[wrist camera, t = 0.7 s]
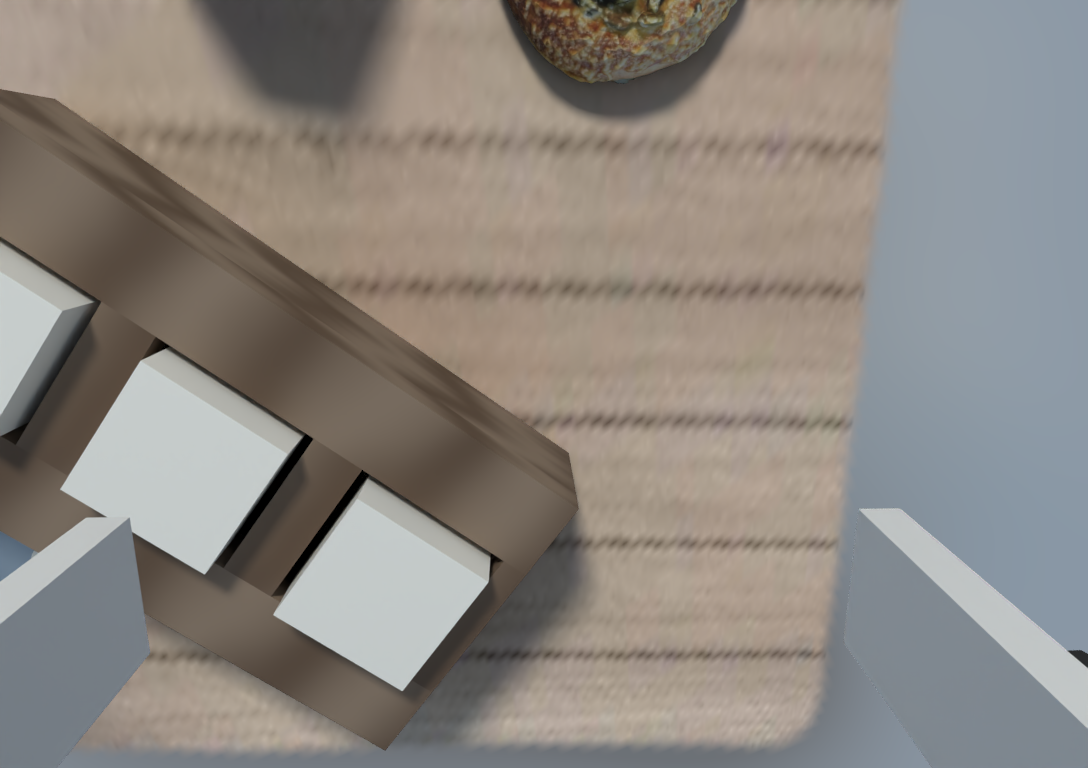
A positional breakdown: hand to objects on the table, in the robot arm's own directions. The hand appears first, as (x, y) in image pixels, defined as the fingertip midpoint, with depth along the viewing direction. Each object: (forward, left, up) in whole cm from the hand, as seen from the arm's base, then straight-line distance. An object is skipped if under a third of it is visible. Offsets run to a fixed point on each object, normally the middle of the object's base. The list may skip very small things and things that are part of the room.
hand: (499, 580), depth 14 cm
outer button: (+1, -10, -17) cm, 20 cm away
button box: (-8, -10, -22) cm, 25 cm away
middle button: (-8, -10, -17) cm, 21 cm away
